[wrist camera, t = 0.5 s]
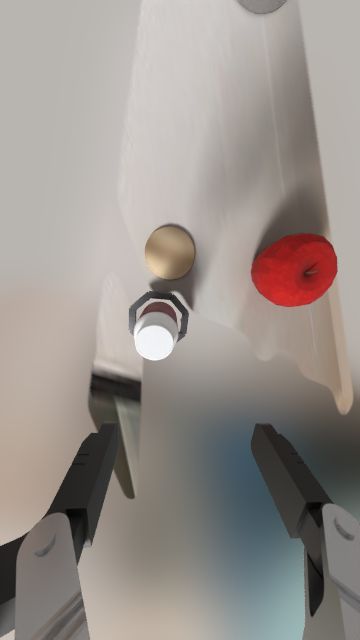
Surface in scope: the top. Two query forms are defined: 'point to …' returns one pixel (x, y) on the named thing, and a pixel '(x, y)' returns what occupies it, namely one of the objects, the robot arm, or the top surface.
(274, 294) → the apple
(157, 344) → the pill bottle
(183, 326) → the ring stand
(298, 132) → the top surface
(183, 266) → the cork coaster
